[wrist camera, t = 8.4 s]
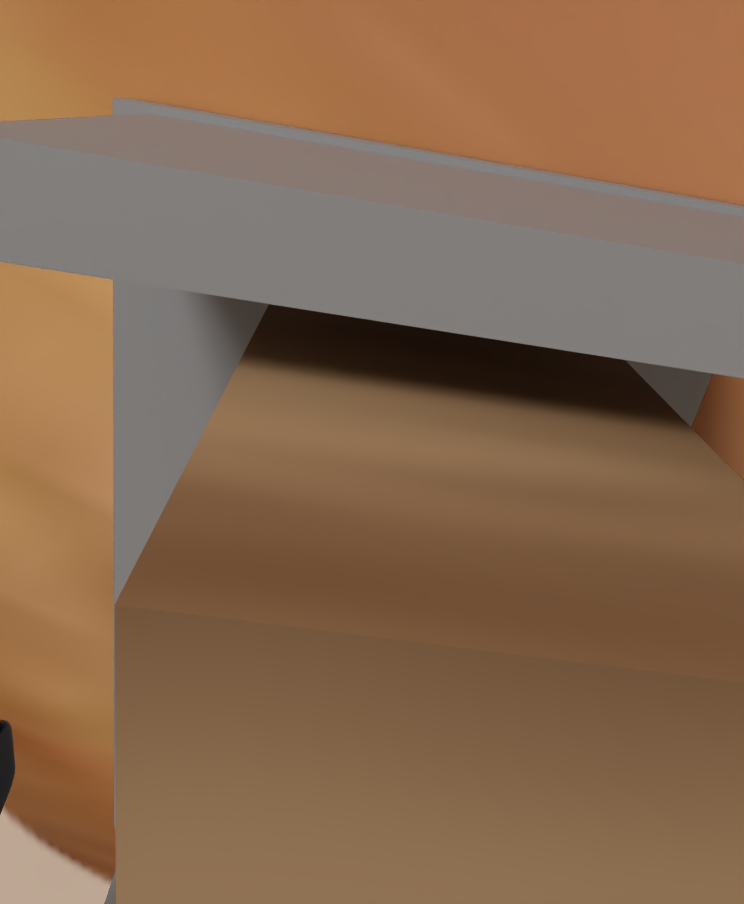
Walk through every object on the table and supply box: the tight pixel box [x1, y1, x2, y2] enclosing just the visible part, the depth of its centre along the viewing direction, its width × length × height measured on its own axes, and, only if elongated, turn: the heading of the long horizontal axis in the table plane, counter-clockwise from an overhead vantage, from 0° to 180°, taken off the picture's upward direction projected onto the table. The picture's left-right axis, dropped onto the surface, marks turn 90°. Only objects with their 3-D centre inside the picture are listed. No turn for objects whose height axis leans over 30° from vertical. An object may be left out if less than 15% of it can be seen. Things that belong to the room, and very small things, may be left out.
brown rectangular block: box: [115, 304, 744, 904], centre depth 8 cm, size 11×4×6 cm, turn 171°
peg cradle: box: [0, 98, 744, 904], centre depth 11 cm, size 14×9×6 cm, turn 171°
